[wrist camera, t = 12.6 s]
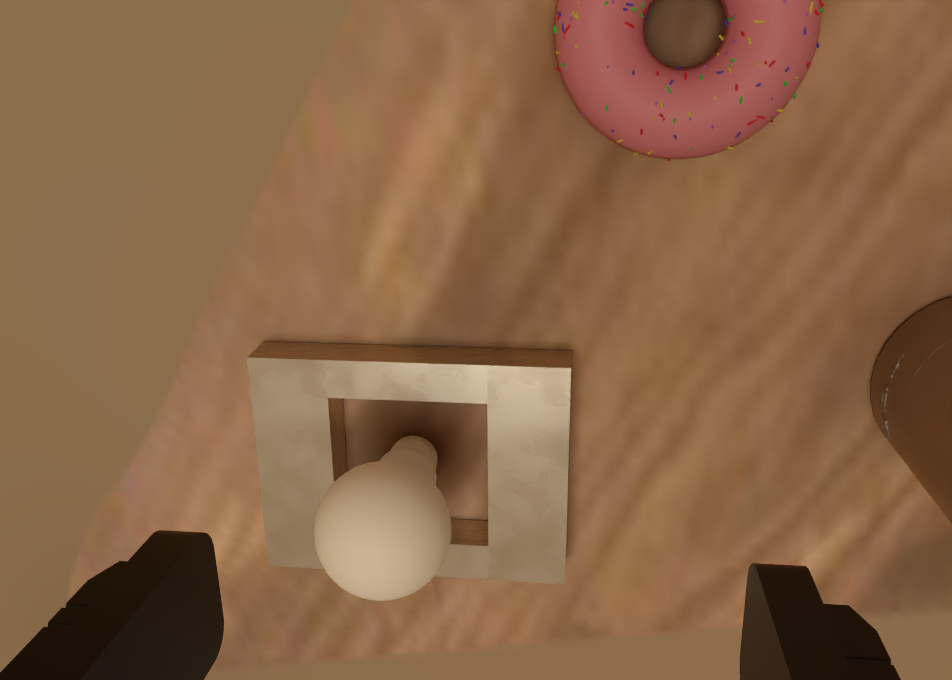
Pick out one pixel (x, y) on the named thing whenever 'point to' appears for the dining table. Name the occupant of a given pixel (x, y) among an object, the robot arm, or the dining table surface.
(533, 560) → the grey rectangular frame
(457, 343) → the dining table surface
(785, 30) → the doughnut
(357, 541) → the lightbulb
